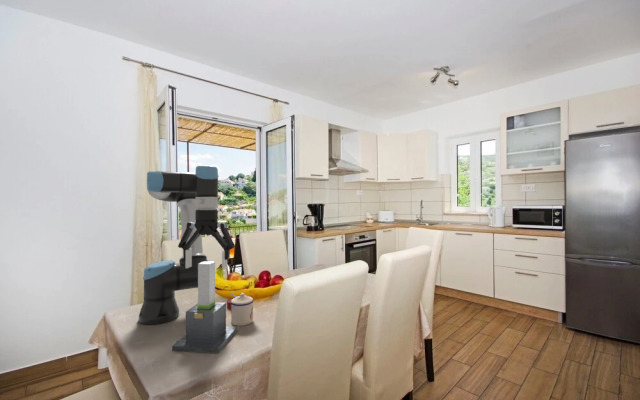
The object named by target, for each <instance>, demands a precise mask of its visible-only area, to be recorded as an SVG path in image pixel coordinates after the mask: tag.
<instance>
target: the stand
mask: <svg viewBox="0 0 640 400" xmlns="http://www.w3.org/2000/svg"><path fill="white" fill-rule="evenodd" d="M237 330H238V327H236V326H227V302H222V301H221V302H219V301H217V302H216V301H215V306H214V307H213V308H212V309H211V310H200V309H198V303H196V304H195V305H193V306H192V307H191V308H189V309H188V310H186V311H185V335H183V336H182V337H181V338H179V340H178V341H176V342H175V343H173V345H171V351H172V352H173V351H174V352H189V353H206V354H219V353H220V352H221V351H222V349H223V348H224V347H225V346H226V345H227V343H229V342H230V340H231V339H232V338H233V337H234V336H235V334H236V333H237V332H238V331H237Z"/></svg>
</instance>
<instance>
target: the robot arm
mask: <svg viewBox="0 0 640 400" xmlns="http://www.w3.org/2000/svg"><path fill="white" fill-rule="evenodd" d="M146 190H147V192H148V193H149V195H150V196H151V197H152V198H153V199H156V200H159V201H163V202H169V203H173V202H175V203H176V206H177V207H178V208H179V210H180V224H181V238H180V241H179V243H178V245H177V247H178V248H180V249H182V256H181V257H180V258H179V262H178V263H176V262H175V260H171V259H169V260H162V261H158V262H154V263H151V264H149V265H146V267H144V270H143V277H142V279H143V302H142V306H141V308H140V312H139V314H138V323H139V324H141V325H159V324H163V323H164V324H165V323H167V322H170V321H173V320H175V319H177V318H178V317H179V315H180V308H179V305H178V303H177V301H176V298H175V297H176V295H175V293H176V292H177V291H178V292H179V291H184V290H190V289H198V264H199V263H201V262H203V261H211V260H209V259H208V256H207V255H206V254H204V252H203V251H204V250H203V237H202V236H205V235H206V236H212V237H213V238H214V239H215V240H216V241H217V243H218V244H219V245H220V246H221V248H222V249H223V250H222V251H221V270H226V269H228V260H230V257H231V254H230V253H231V250H234V249H235V248H236V246H235V243H234V241H233V239H232V237H231V234H230V232H229V230H228V227H227V226H228V225H227V222H221V223H219V222H218V220H219V211H218V209H217V208H219V198H218V196H219V169H218V167H217V166H214V165H197V166H195V172H180V171H179V172H176V171H161V170H154V171H153V170H150V171H148V172H146ZM218 228H219V229H220V231H221V234H222V235H221V234H220V232H219V231H218Z"/></svg>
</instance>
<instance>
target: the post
mask: <svg viewBox="0 0 640 400" xmlns="http://www.w3.org/2000/svg"><path fill="white" fill-rule="evenodd" d="M197 298H198V299H197V304H198V309H200V310H211V309H212V308H213V307H214V306H215V302H216V261H211V260H210V261H203V262H201V263H199V264H198V288H197Z"/></svg>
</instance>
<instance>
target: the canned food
mask: <svg viewBox="0 0 640 400" xmlns="http://www.w3.org/2000/svg"><path fill="white" fill-rule="evenodd" d="M230 295H231V296H232V297H235V298H236V297H238V296H236V295H234V294H232V293H230ZM230 298H231V297H230ZM230 298H228V299H227V300H226V309H228V308H229V309H228V310H231V300H232V299H230Z"/></svg>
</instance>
